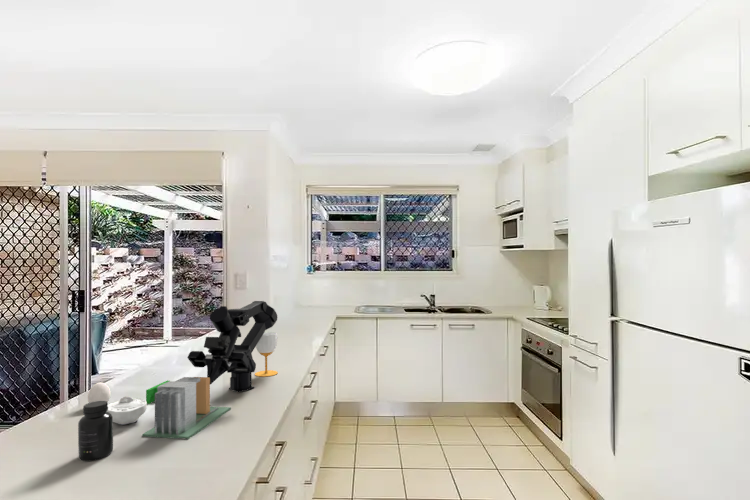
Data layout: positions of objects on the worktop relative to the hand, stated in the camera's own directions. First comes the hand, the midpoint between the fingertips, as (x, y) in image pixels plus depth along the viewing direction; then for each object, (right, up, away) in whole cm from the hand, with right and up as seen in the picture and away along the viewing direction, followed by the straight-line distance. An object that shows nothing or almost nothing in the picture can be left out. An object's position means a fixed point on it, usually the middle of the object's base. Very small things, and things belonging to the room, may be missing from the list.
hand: (208, 383), depth 129 cm
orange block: (-1, -7, -5) cm, 8 cm away
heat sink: (-1, -8, -10) cm, 12 cm away
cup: (+7, -9, +41) cm, 43 cm away
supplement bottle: (-15, -7, -30) cm, 34 cm away
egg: (-36, -9, +4) cm, 37 cm away
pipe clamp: (-20, -9, +12) cm, 25 cm away
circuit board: (-1, -8, -10) cm, 12 cm away
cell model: (-20, -8, -9) cm, 23 cm away
